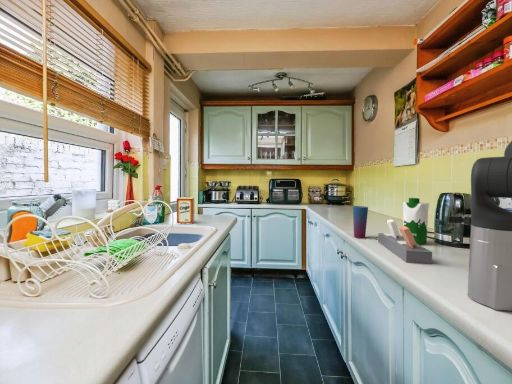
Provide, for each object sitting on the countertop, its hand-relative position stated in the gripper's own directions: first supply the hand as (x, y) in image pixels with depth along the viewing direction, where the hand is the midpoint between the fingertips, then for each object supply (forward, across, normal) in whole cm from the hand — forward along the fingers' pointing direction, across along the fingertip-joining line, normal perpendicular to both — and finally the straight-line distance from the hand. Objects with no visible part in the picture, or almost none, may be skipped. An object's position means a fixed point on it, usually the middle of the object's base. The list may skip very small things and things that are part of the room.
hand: (447, 219), depth 86 cm
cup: (+20, -32, +15) cm, 41 cm away
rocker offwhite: (+10, -15, +10) cm, 21 cm away
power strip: (+10, -14, +15) cm, 22 cm away
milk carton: (-2, -26, +14) cm, 30 cm away
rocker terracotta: (+10, -1, +10) cm, 15 cm away
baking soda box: (+119, -54, +16) cm, 132 cm away
